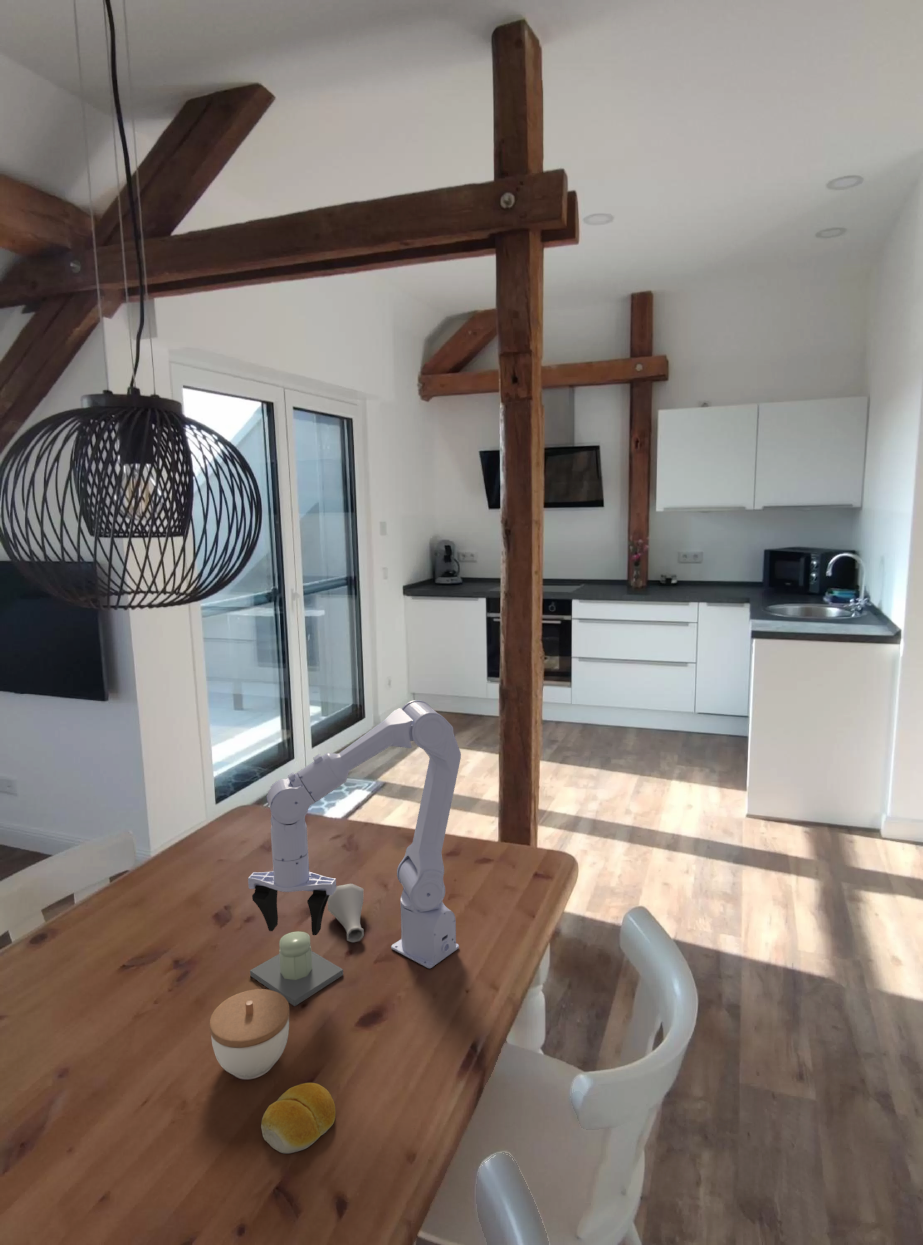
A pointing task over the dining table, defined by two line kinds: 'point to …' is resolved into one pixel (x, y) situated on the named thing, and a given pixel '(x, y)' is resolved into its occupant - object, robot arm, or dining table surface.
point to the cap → (295, 955)
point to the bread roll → (298, 1118)
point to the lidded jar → (250, 1032)
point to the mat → (299, 988)
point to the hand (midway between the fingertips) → (294, 929)
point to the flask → (348, 909)
